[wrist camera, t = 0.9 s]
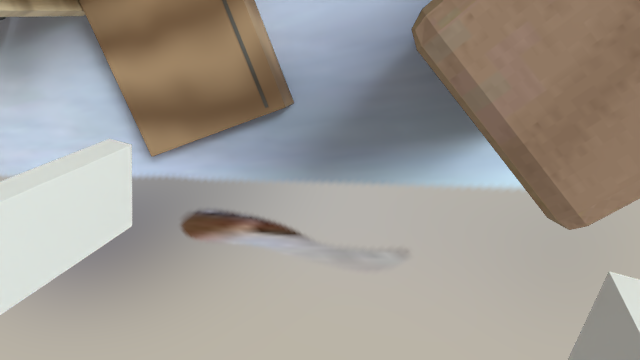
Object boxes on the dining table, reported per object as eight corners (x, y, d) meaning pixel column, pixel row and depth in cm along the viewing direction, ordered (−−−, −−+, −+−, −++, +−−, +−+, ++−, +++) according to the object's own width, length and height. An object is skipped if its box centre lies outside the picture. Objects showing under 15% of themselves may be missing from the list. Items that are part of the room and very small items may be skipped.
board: (65, -66, 41) (45, -70, 39) (195, -152, 36) (180, -161, 34) (164, 150, 45) (151, 156, 43) (294, 102, 40) (285, 107, 38)
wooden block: (656, 36, 31) (913, 70, 13) (518, 127, 35) (567, 249, 17) (565, -89, 30) (702, -237, 12) (435, 19, 35) (396, 29, 17)
